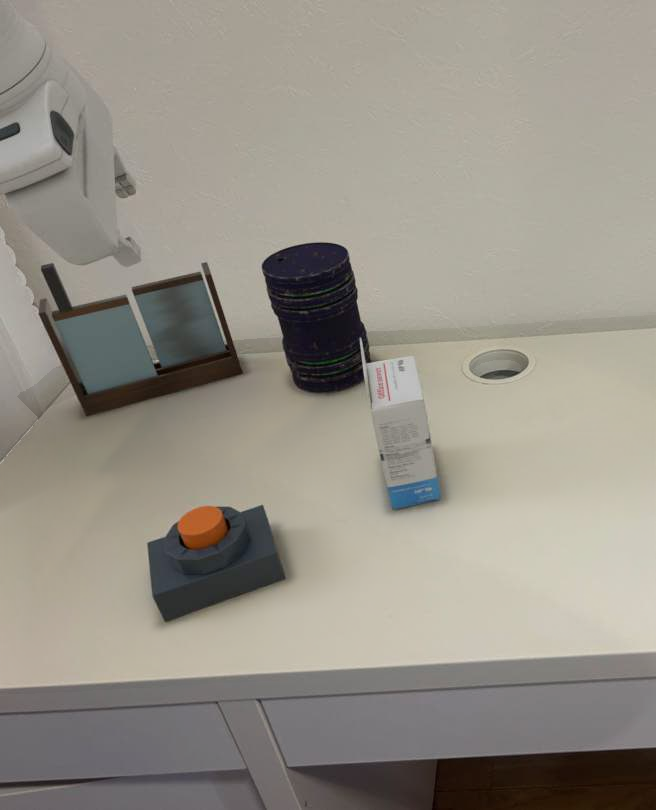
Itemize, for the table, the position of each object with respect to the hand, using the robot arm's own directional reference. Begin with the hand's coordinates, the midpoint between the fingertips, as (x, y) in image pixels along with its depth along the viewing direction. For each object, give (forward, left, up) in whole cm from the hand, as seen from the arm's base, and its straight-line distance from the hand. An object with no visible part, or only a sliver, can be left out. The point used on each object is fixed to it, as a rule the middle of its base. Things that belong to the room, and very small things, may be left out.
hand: (131, 224), depth 73 cm
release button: (-2, -21, -20) cm, 30 cm away
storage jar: (+15, +8, -25) cm, 30 cm away
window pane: (-8, +14, -23) cm, 28 cm away
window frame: (-4, +15, -25) cm, 30 cm away
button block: (-2, -21, -25) cm, 33 cm away
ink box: (+17, -17, -25) cm, 35 cm away
